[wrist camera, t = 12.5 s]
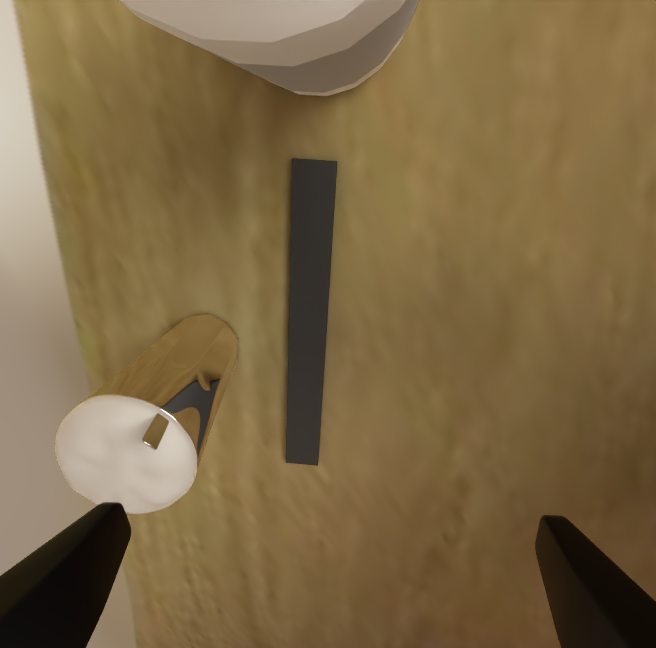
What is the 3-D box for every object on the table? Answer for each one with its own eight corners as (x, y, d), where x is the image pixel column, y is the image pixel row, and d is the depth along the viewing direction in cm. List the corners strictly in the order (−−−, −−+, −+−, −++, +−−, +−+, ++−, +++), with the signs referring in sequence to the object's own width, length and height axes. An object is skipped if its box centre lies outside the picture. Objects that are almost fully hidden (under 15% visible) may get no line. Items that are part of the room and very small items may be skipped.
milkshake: (281, 331, 21) (219, 492, 12) (217, 396, 22) (121, 578, 13) (206, 269, 19) (73, 393, 10) (146, 343, 21) (-12, 502, 12)
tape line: (318, 463, 24) (317, 465, 24) (286, 459, 24) (285, 462, 24) (337, 161, 17) (336, 161, 17) (293, 158, 17) (292, 158, 17)
